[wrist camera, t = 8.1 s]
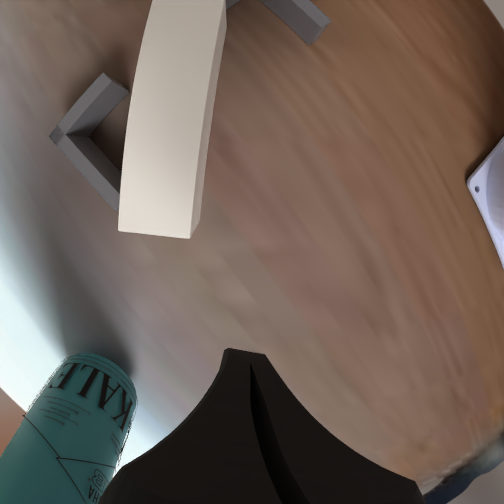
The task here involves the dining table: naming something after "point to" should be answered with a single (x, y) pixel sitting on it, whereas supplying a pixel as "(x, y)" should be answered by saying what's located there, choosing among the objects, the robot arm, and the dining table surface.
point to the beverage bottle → (70, 435)
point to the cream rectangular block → (171, 117)
